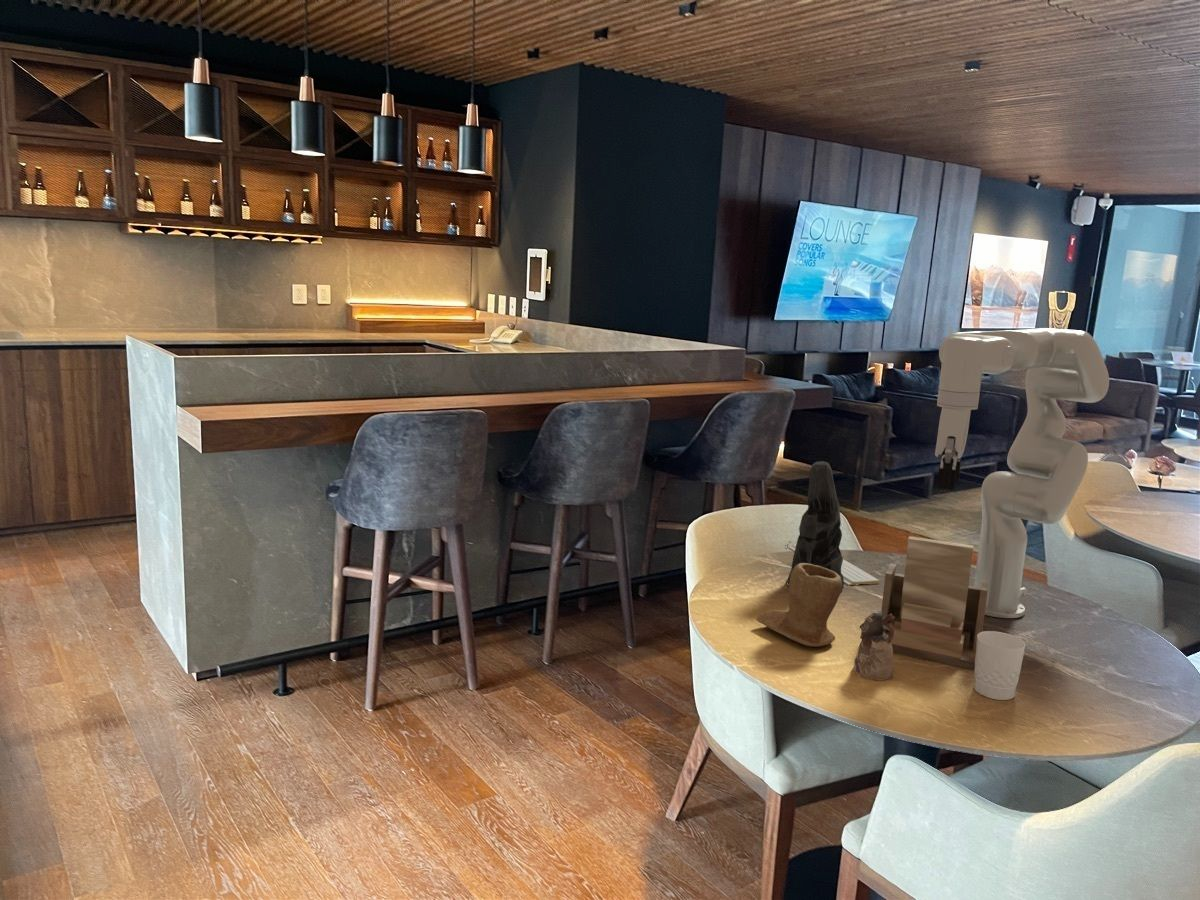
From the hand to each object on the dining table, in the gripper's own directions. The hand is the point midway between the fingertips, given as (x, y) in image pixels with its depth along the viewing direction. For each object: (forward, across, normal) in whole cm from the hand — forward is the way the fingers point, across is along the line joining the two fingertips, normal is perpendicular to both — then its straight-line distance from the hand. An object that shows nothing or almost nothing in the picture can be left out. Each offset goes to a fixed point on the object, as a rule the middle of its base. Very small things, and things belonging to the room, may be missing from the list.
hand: (947, 484), depth 176 cm
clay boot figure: (+33, +14, -24) cm, 43 cm away
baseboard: (+33, -36, -28) cm, 56 cm away
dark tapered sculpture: (+33, -18, -28) cm, 47 cm away
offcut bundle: (+31, +10, 0) cm, 32 cm away
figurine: (+33, +25, -7) cm, 42 cm away
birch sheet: (+31, +5, 0) cm, 31 cm away
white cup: (+33, +22, +13) cm, 41 cm away
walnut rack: (+32, +7, 0) cm, 33 cm away
